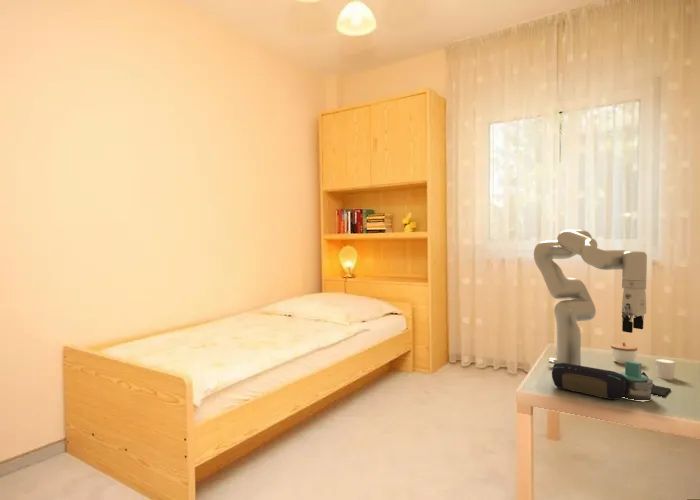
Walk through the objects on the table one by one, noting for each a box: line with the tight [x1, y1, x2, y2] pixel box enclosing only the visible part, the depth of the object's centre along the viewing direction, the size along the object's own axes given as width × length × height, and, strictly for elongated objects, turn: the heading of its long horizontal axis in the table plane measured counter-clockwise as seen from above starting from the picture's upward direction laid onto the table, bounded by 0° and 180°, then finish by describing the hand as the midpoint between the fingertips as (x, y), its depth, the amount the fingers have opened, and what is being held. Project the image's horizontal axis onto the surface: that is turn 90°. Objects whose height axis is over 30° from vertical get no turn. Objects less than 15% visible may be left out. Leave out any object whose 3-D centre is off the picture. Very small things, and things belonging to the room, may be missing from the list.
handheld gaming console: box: [641, 371, 671, 398], centre depth 166 cm, size 12×7×10 cm
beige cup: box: [655, 358, 676, 380], centre depth 183 cm, size 7×7×7 cm
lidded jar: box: [610, 342, 638, 365], centre depth 205 cm, size 11×11×9 cm
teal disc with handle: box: [618, 361, 649, 382], centre depth 160 cm, size 9×9×8 cm
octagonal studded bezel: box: [622, 377, 654, 400], centre depth 160 cm, size 10×10×7 cm
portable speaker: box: [551, 363, 627, 400], centre depth 164 cm, size 25×10×10 cm, turn 48°
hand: (632, 330), depth 161 cm, fingers open, 9 cm apart
